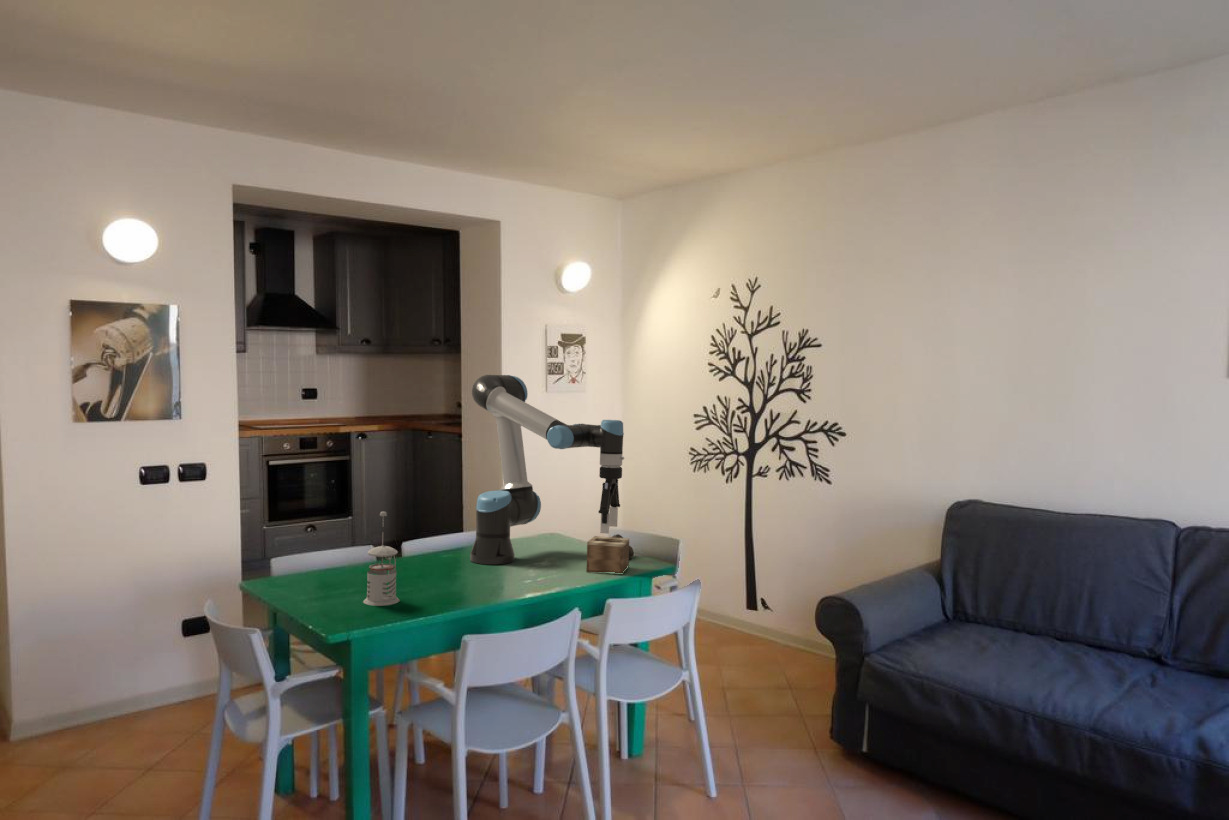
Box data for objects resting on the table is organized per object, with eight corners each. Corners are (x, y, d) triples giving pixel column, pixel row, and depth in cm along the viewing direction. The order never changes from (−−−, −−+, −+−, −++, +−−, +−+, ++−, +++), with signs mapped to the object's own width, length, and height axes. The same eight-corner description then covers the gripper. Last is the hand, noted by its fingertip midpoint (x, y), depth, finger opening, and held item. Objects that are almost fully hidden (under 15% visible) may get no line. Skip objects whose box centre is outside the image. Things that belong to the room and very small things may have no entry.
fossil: (634, 560, 289) (621, 534, 289) (611, 571, 290) (598, 545, 289) (635, 552, 300) (623, 528, 299) (612, 563, 301) (600, 539, 300)
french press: (356, 604, 225) (358, 513, 224) (376, 593, 236) (378, 506, 235) (390, 607, 223) (392, 515, 222) (408, 596, 234) (410, 509, 233)
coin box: (586, 572, 271) (587, 542, 270) (593, 565, 281) (594, 536, 281) (622, 575, 268) (623, 544, 268) (628, 567, 279) (629, 538, 279)
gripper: (614, 470, 261) (612, 537, 261) (629, 463, 285) (627, 524, 286) (591, 469, 262) (589, 535, 263) (607, 462, 287) (605, 522, 287)
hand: (609, 529), depth 274 cm, fingers open, 13 cm apart
